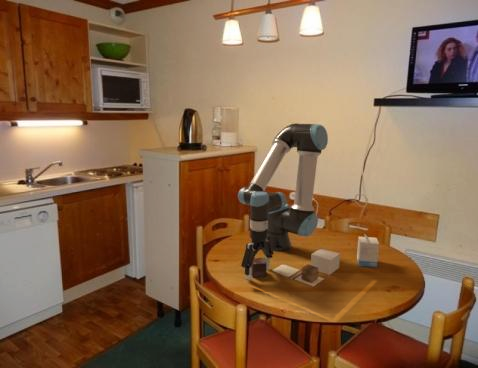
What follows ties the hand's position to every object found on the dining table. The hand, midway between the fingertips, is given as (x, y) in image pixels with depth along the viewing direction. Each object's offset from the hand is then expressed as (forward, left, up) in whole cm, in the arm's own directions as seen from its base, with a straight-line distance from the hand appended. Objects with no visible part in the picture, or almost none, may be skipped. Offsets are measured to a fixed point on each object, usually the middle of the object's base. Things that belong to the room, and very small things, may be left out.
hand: (257, 276), depth 150 cm
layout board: (+13, +12, 0) cm, 18 cm away
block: (+19, +11, +1) cm, 22 cm away
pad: (+7, +11, +1) cm, 13 cm away
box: (0, 0, 0) cm, 0 cm away
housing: (+19, +25, 0) cm, 31 cm away
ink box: (+30, +46, 0) cm, 55 cm away
